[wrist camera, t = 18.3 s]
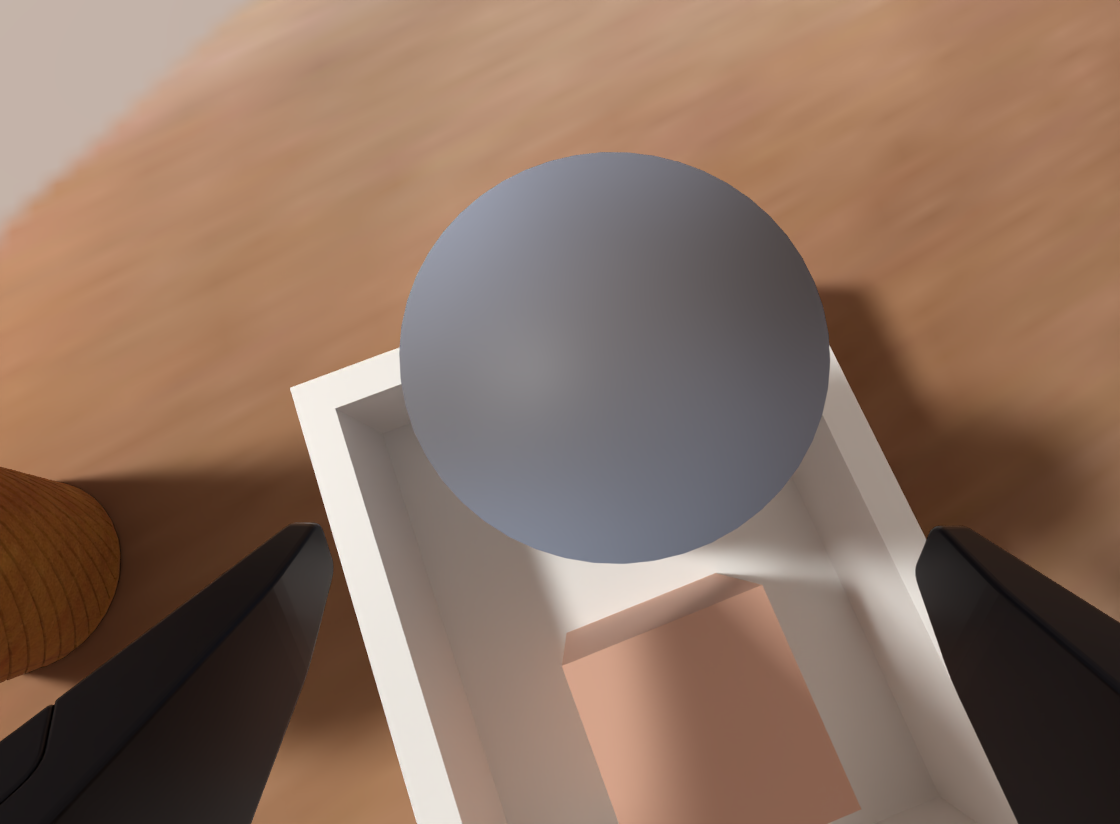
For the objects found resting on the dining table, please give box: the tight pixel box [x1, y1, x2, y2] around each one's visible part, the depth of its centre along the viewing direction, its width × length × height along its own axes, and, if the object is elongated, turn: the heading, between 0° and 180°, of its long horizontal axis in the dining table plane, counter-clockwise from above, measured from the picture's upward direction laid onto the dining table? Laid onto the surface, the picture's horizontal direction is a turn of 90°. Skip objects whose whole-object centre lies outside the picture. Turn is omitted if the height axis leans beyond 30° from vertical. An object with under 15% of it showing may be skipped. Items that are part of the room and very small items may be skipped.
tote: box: [290, 345, 1018, 824], centre depth 17 cm, size 18×14×5 cm
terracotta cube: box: [562, 573, 861, 824], centre depth 16 cm, size 5×5×5 cm
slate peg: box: [399, 152, 830, 564], centre depth 13 cm, size 5×5×13 cm
